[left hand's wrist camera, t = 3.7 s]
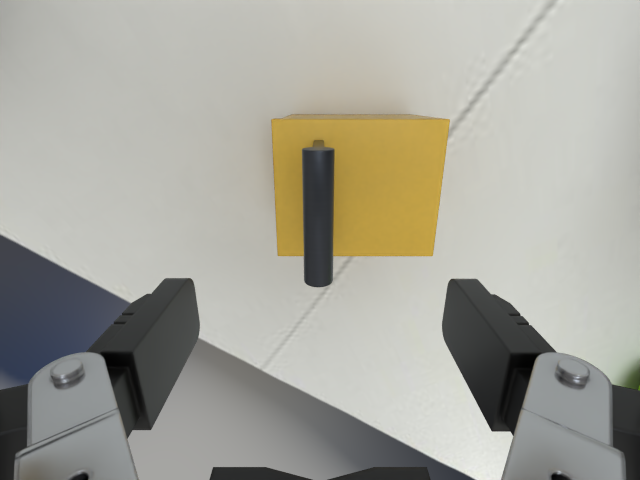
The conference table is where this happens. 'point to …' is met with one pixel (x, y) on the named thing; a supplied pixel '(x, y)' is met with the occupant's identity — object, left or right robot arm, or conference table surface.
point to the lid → (356, 188)
